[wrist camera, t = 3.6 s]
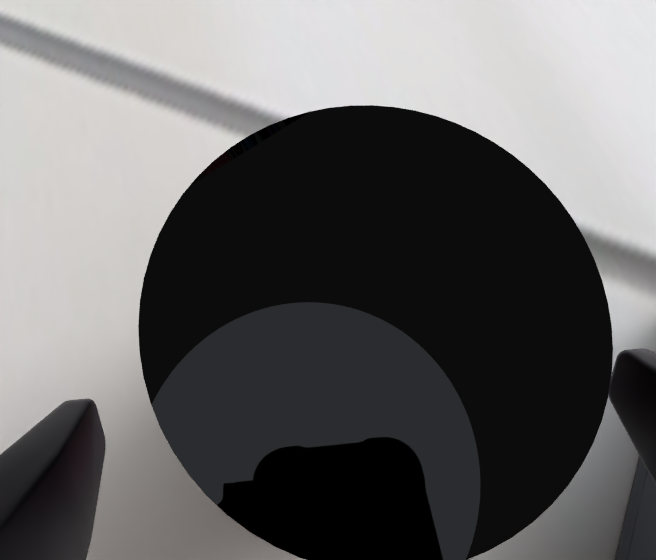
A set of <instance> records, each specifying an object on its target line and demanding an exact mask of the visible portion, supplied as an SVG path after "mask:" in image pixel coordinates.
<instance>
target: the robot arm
mask: <svg viewBox="0 0 656 560" xmlns="http://www.w3.org/2000/svg"><path fill="white" fill-rule="evenodd" d="M609 398H610V401H611V403H612V405H613V407H614V408H615V410H616V412H617V414H618V416H619V418H620V420H621V422H622V423H623V425H624V427H625V429H626V431H627V433H628V435H629V437H630V438H631V440H632V442H633V444H634V446H635V448H636V450H637V452H638V454H639V455H640V457H641V459H642V461H643V463H644V465H645V466H646V468H647V470H648V472H649V473H650V475H651V477H652V478H653V480H654V482H655V483H656V353H655V352H652V351H650V350H647V349H632V350H624V351H622V352H620V353H619V355H618V356H617V359H616V362H615V366H614V369H613V372H612V376H611V381H610V387H609ZM105 446H106V445H105V436H104V432H103V428H102V425H101V421H100V418H99V414H98V410H97V407H96V404H95V403H94V401H93V400H91V399H79V400H69V401H65V402H64V403H62V404H61V405H60V406H58V407H57V408H56V409H55V410H54V411H52V412H51V413H50V414H49V415H48V416H46V417H45V418H44V419H43V420H42V421H40V422H39V423H38V424H37V425H36V426H34V427H33V428H32V429H31V430H30V431H28V432H27V433H26V434H25V435H24V436H22V437H21V438H20V439H19V440H18V441H16V442H15V443H14V444H13V445H11V446H10V447H9V448H8V449H7V450H5V451H4V452H3V453H2V454H1V455H0V560H86V557H87V553H88V549H89V545H90V541H91V535H92V530H93V524H94V518H95V512H96V506H97V499H98V493H99V487H100V481H101V474H102V468H103V462H104V456H105Z"/></svg>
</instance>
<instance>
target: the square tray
mask: <svg viewBox="0 0 656 560" xmlns="http://www.w3.org/2000/svg"><path fill="white" fill-rule="evenodd" d="M615 560H656V483H655V482H654V480H653V478H652V477H651V475H650V473H649V472H648V470H647V468H646V466H645V465H644V463H643V461H642V459H641V457H640V458H639V462H638V466H637V470H636V474H635V478H634V483H633V487H632V491H631V495H630V499H629V503H628V508H627V512H626V516H625V520H624V524H623V528H622V532H621V537H620V541H619V545H618V549H617V553H616V557H615Z"/></svg>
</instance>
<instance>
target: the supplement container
mask: <svg viewBox="0 0 656 560" xmlns="http://www.w3.org/2000/svg"><path fill="white" fill-rule="evenodd" d="M139 346H140V357H141V363H142V369H143V376H144V380H145V384H146V387H147V391H148V395H149V398H150V402H151V405H152V407H153V410H154V412H155V415H156V417H157V420H158V423H159V425H160V428H161V429H162V431H163V433H164V435H165V437H166V439H167V441H168V443H169V445H170V447H171V448H172V450H173V452H174V454H175V455H176V456H177V458H178V459H179V461H180V462H181V464H182V465H183V467H184V468H185V470H186V471H187V473H188V474H189V475H190V477H191V478H192V479H193V480H194V481H195V482H196V484H197V485H198V486H199V487H200V488H201V489H202V491H203V492H204V493H205V494H206V495H207V496H208V497H209V498H210V499H211V500H212V501H213V502H214V503H215V504H216V505H217V506H218V507H219V508H220V509H222V510H223V511H224V512H225V513H226V514H227V515H228V516H229V517H231V518H232V519H233V520H235V521H236V522H237V523H239V524H240V525H241V526H243V527H244V528H245V529H247V530H248V531H249V532H251V533H253V534H255V535H256V536H258V537H260V538H261V539H263V540H265V541H266V542H268V543H270V544H272V545H273V546H275V547H277V548H280V549H282V550H284V551H286V552H289V553H291V554H293V555H295V556H298V557H300V558H303V559H306V560H467V559H469V558H472V557H474V556H477V555H479V554H481V553H484V552H486V551H489V550H490V549H492V548H494V547H496V546H497V545H499V544H501V543H503V542H505V541H506V540H508V539H510V538H512V537H513V536H514V535H516V534H517V533H519V532H520V531H521V530H523V529H524V528H525V527H527V526H528V525H529V524H531V523H532V522H533V521H534V520H536V519H537V518H538V517H539V516H540V515H541V514H542V513H543V512H544V511H545V510H546V509H547V508H548V507H550V506H551V505H552V504H553V502H554V501H555V500H556V499H557V498H558V497H559V495H560V494H561V493H562V492H563V491H564V489H565V488H566V487H567V486H568V485H569V483H570V482H571V480H572V479H573V477H574V476H575V474H576V473H577V471H578V470H579V468H580V467H581V465H582V463H583V462H584V460H585V458H586V456H587V454H588V452H589V450H590V448H591V446H592V444H593V442H594V439H595V437H596V434H597V432H598V429H599V426H600V424H601V421H602V418H603V414H604V410H605V406H606V403H607V399H608V394H609V387H610V381H611V374H612V354H613V345H612V328H611V320H610V314H609V308H608V302H607V298H606V294H605V290H604V287H603V283H602V279H601V277H600V274H599V271H598V268H597V266H596V263H595V260H594V258H593V256H592V254H591V251H590V249H589V247H588V245H587V243H586V241H585V239H584V237H583V235H582V234H581V232H580V230H579V229H578V227H577V225H576V224H575V222H574V220H573V219H572V217H571V216H570V214H569V213H568V212H567V210H566V209H565V208H564V206H563V205H562V203H561V202H560V201H559V200H558V198H557V197H556V196H555V195H554V194H553V193H552V191H551V190H550V189H549V188H548V187H547V186H546V185H545V183H543V182H542V181H541V180H540V179H539V178H538V177H537V176H536V175H535V174H534V173H533V172H532V171H531V170H530V169H529V168H528V167H527V166H525V165H524V164H523V163H522V162H520V161H519V160H518V159H517V158H515V157H514V156H513V155H512V154H510V153H509V152H507V151H506V150H504V149H503V148H501V147H500V146H498V145H497V144H495V143H494V142H492V141H490V140H489V139H487V138H485V137H483V136H481V135H480V134H478V133H476V132H474V131H472V130H470V129H467V128H465V127H463V126H461V125H458V124H456V123H454V122H451V121H448V120H445V119H442V118H439V117H437V116H433V115H429V114H425V113H421V112H418V111H413V110H407V109H401V108H395V107H384V106H344V107H334V108H327V109H322V110H317V111H312V112H307V113H304V114H300V115H297V116H294V117H290V118H287V119H285V120H282V121H280V122H277V123H274V124H272V125H269V126H267V127H265V128H263V129H261V130H259V131H257V132H256V133H254V134H252V135H250V136H248V137H246V138H245V139H243V140H242V141H240V142H239V143H237V144H236V145H234V146H232V147H231V148H230V149H228V150H227V151H226V152H225V153H223V154H222V155H221V156H219V157H218V158H217V159H216V160H214V161H213V162H212V163H211V164H210V165H209V166H208V167H207V168H206V169H205V170H204V171H203V172H202V173H201V174H200V175H199V176H198V177H197V178H196V179H195V180H194V182H193V183H192V184H191V185H190V186H189V188H188V189H187V190H186V191H185V192H184V193H183V195H182V196H181V198H180V199H179V201H178V202H177V204H176V205H175V207H174V208H173V210H172V211H171V213H170V214H169V216H168V218H167V220H166V222H165V224H164V226H163V228H162V229H161V231H160V233H159V236H158V238H157V241H156V243H155V246H154V248H153V251H152V253H151V256H150V259H149V263H148V266H147V270H146V273H145V277H144V282H143V288H142V294H141V299H140V311H139Z"/></svg>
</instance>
